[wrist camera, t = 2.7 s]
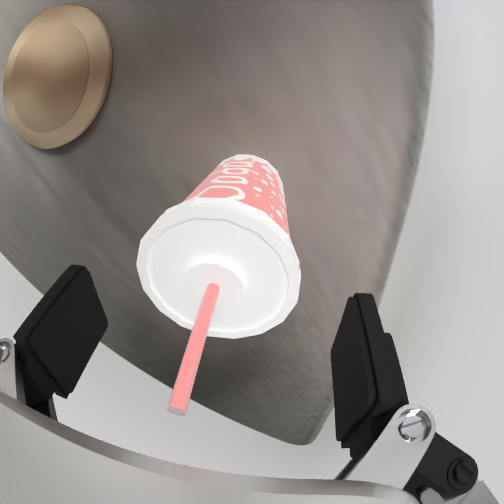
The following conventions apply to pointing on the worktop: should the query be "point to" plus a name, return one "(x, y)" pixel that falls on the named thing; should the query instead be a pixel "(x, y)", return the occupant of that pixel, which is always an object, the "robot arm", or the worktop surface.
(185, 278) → the beverage cup
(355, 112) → the worktop surface
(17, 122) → the plate
